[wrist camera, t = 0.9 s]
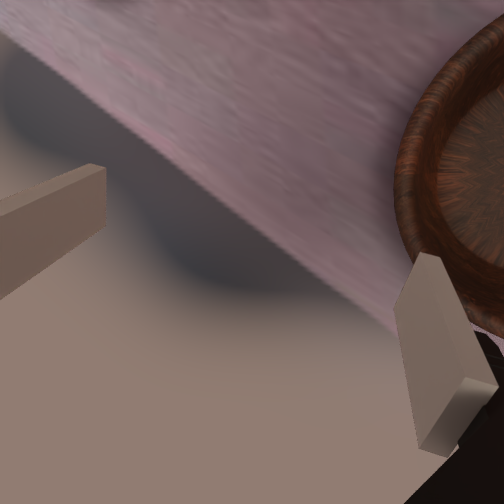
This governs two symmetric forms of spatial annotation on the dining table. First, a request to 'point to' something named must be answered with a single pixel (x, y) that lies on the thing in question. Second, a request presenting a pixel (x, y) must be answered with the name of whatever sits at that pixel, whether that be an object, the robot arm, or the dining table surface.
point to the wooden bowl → (460, 176)
